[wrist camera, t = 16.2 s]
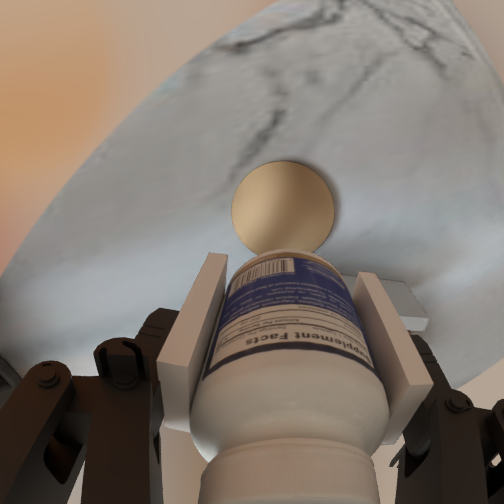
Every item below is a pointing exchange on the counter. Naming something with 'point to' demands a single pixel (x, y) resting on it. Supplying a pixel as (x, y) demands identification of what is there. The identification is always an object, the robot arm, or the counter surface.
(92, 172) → the counter surface
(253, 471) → the pill bottle
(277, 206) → the coaster
